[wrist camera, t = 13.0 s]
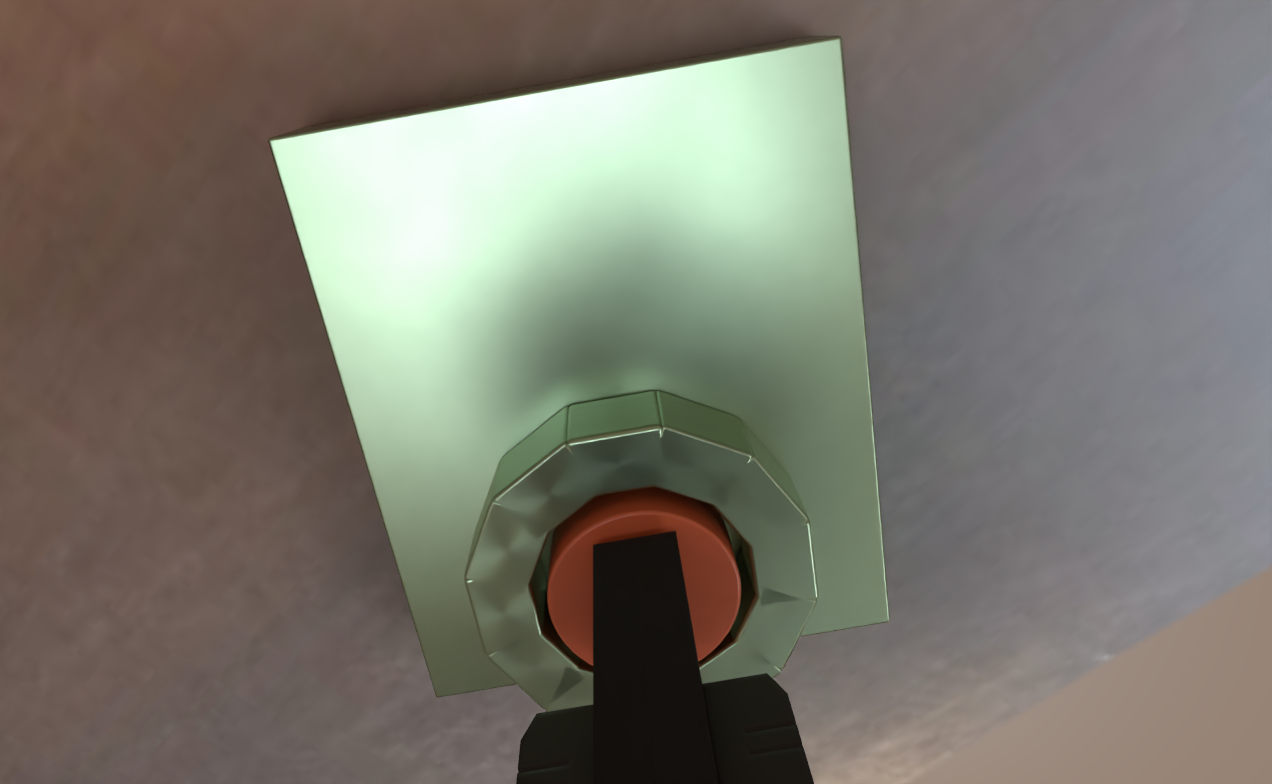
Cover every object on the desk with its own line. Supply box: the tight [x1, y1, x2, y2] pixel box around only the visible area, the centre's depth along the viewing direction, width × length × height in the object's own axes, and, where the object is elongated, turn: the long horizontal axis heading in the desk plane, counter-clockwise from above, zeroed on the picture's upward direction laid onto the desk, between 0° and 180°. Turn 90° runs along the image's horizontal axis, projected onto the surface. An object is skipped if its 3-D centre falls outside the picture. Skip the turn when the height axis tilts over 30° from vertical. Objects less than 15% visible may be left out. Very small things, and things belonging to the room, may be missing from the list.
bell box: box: [268, 36, 890, 712], centre depth 18 cm, size 12×10×4 cm
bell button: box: [547, 487, 741, 665], centre depth 18 cm, size 4×4×2 cm
